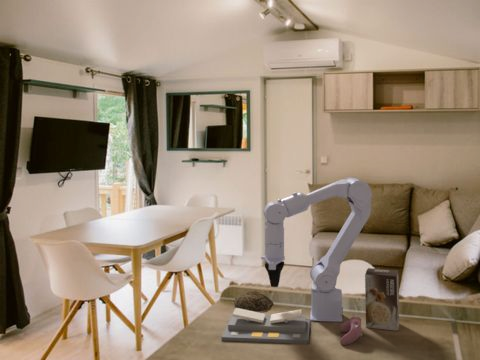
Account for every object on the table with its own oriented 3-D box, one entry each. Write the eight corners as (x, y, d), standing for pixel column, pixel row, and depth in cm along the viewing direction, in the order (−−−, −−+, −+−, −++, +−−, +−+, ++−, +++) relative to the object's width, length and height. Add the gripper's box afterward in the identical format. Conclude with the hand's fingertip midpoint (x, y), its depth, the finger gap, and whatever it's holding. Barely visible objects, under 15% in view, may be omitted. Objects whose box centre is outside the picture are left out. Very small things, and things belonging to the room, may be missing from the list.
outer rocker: (264, 317, 154) (265, 313, 154) (262, 324, 150) (263, 320, 149) (235, 311, 156) (235, 307, 155) (232, 318, 151) (232, 313, 151)
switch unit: (309, 322, 156) (309, 314, 156) (308, 343, 141) (308, 335, 141) (231, 319, 160) (230, 311, 160) (221, 340, 145) (221, 331, 145)
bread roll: (230, 312, 167) (230, 297, 166) (237, 298, 179) (237, 284, 178) (270, 313, 165) (270, 298, 164) (274, 299, 177) (274, 285, 176)
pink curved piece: (354, 352, 139) (366, 330, 138) (338, 344, 140) (350, 322, 138) (353, 336, 149) (364, 316, 147) (338, 329, 149) (349, 308, 148)
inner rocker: (302, 313, 152) (301, 309, 152) (301, 320, 148) (300, 315, 147) (272, 318, 154) (271, 314, 154) (270, 325, 149) (269, 320, 149)
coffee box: (399, 323, 153) (400, 270, 151) (397, 331, 147) (398, 276, 145) (368, 319, 157) (367, 267, 155) (364, 327, 151) (364, 273, 149)
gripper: (264, 236, 164) (264, 278, 166) (258, 247, 150) (258, 293, 151) (286, 237, 163) (286, 279, 164) (282, 248, 149) (282, 294, 150)
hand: (274, 286), depth 158 cm, fingers closed
